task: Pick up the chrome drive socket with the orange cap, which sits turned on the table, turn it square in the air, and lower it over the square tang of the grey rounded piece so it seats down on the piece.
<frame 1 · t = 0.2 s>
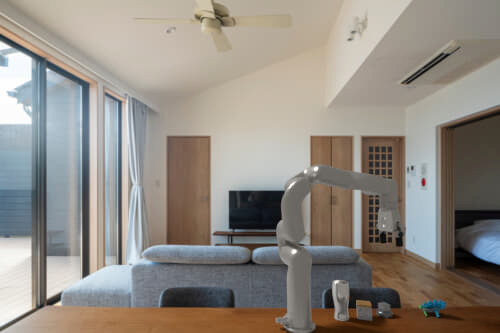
hand: (391, 244, 128), 30 cm above the table, tool pointing down, fingers open, 9 cm apart
grey rounded piece: (384, 315, 126), on the table
blue lumpy figure: (433, 315, 126), on the table
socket: (364, 317, 124), on the table
beer glass: (341, 318, 123), on the table
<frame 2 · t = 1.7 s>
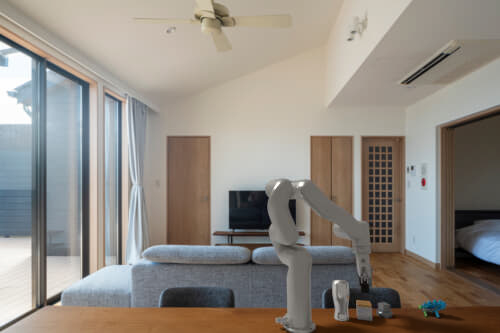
hand: (364, 289, 125), 12 cm above the table, tool pointing down, fingers open, 9 cm apart
nothing on the table moved.
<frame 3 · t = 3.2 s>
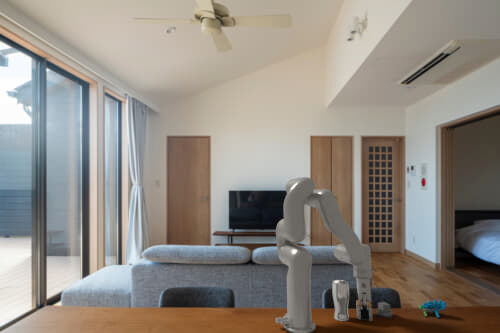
hand: (364, 316, 124), 1 cm above the table, tool pointing down, fingers closed on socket, 5 cm apart
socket: (364, 317, 124), on the table, touching gripper
everything else where it was.
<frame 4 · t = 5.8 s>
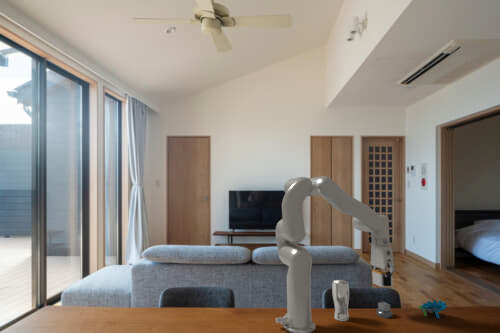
hand: (382, 283, 128), 13 cm above the table, tool pointing down, fingers closed on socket, 5 cm apart
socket: (382, 284, 127), point 13 cm above the table, touching gripper
everything else where it was.
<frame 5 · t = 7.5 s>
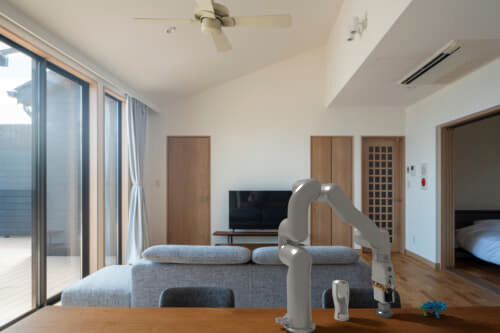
hand: (384, 299, 127), 7 cm above the table, tool pointing down, fingers closed on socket, 5 cm apart
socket: (384, 300, 127), point 6 cm above the table, touching gripper
everything else where it was.
when the fingers open (4 cm above the table, at t = 8.6 s): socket drops 2 cm, resting on grey rounded piece.
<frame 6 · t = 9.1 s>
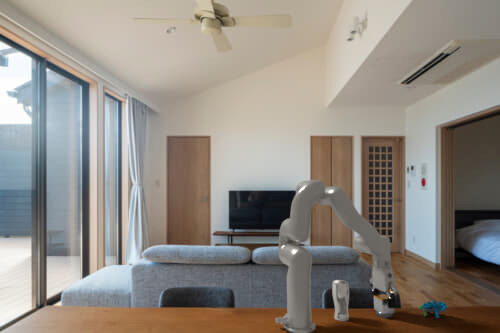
hand: (383, 303, 127), 5 cm above the table, tool pointing down, fingers open, 9 cm apart
grey rounded piece: (384, 315, 126), on the table, touching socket
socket: (384, 310, 126), point 2 cm above the table, touching grey rounded piece
everything else where it was.
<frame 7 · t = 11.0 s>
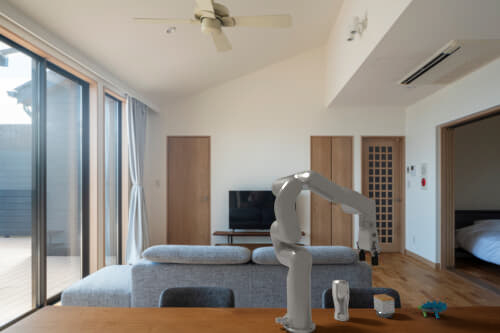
hand: (368, 263, 132), 22 cm above the table, tool pointing down, fingers open, 9 cm apart
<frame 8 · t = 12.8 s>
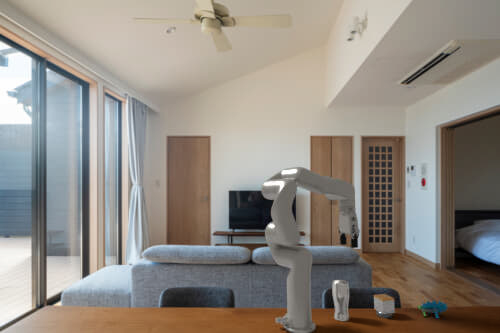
hand: (348, 246, 138), 28 cm above the table, tool pointing down, fingers open, 9 cm apart
at the end: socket 0.0 cm from the grey rounded piece (horizontally); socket point 1.9 cm above the table; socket tilted 0° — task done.
